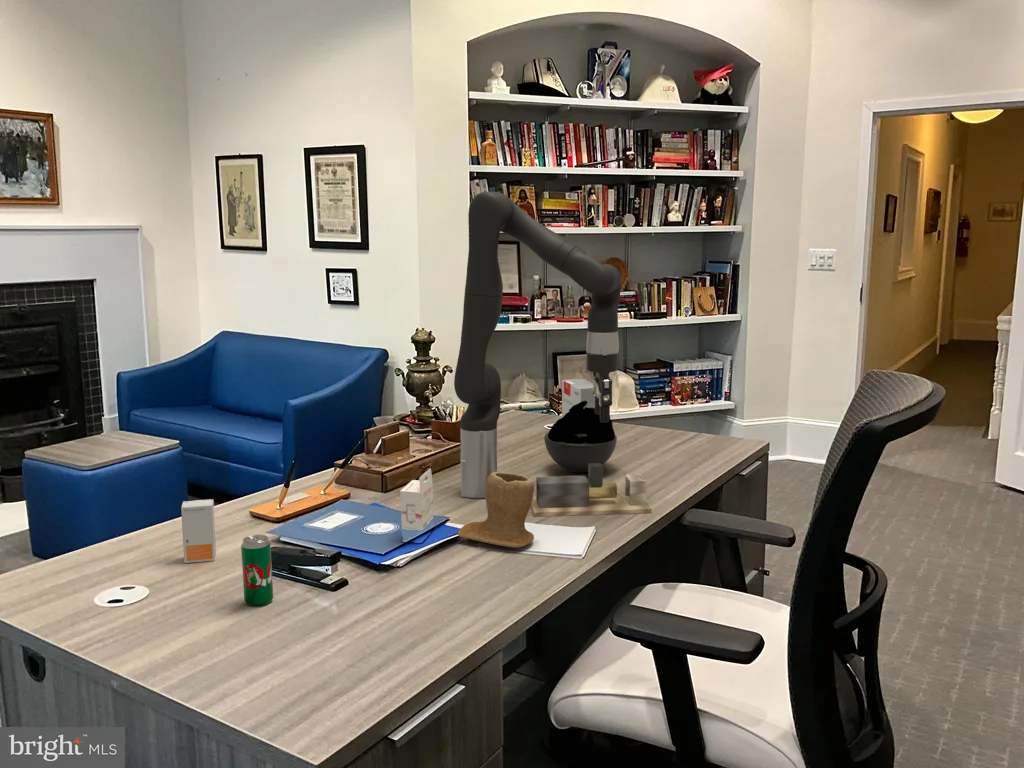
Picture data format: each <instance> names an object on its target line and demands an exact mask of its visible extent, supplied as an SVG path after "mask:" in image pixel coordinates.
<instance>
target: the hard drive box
mask: <svg viewBox="0 0 1024 768" xmlns="http://www.w3.org/2000/svg"><path fill="white" fill-rule="evenodd" d="M582 401H587V402H588V403H587V405H586V406H585V407H587V408H595V399H594V395H593V382H591V381H589V380H588V379H584V378H571V379H562V380H561V418H563V416H564V415H565V414H566V413H568V412H569V409H570V408H571V407H572V406H573V405H576V404H578V403H580V402H582ZM585 407H584V408H585Z"/></svg>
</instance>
